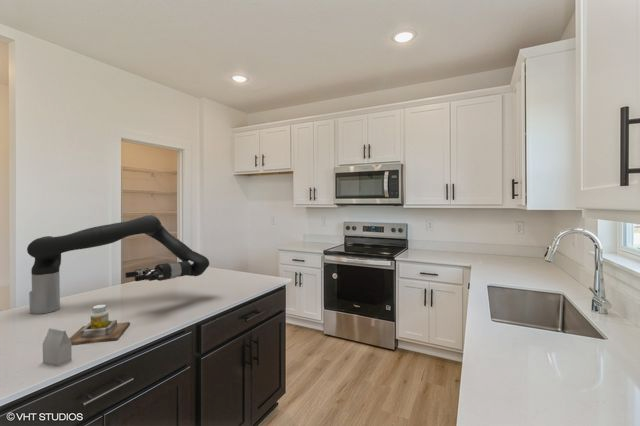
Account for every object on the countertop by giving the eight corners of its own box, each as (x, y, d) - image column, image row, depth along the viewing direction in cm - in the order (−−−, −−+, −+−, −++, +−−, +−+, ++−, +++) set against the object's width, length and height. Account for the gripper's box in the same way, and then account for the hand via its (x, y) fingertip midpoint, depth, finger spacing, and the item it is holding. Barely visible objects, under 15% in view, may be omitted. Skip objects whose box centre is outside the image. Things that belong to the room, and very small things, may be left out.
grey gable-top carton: (58, 366, 90) (58, 333, 90) (42, 362, 92) (42, 330, 92) (71, 360, 94) (71, 328, 93) (56, 356, 96) (55, 326, 95)
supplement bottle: (112, 329, 113) (111, 304, 113) (97, 335, 108) (97, 309, 108) (101, 327, 115) (101, 303, 115) (87, 333, 110) (86, 307, 110)
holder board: (64, 345, 102) (64, 335, 102) (83, 328, 116) (82, 319, 116) (117, 340, 107) (117, 330, 107) (129, 324, 121) (129, 316, 120)
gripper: (160, 260, 142) (122, 265, 129) (176, 265, 134) (138, 271, 121) (159, 276, 142) (122, 282, 129) (176, 281, 134) (138, 289, 121)
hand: (130, 277), depth 125 cm, fingers open, 8 cm apart
